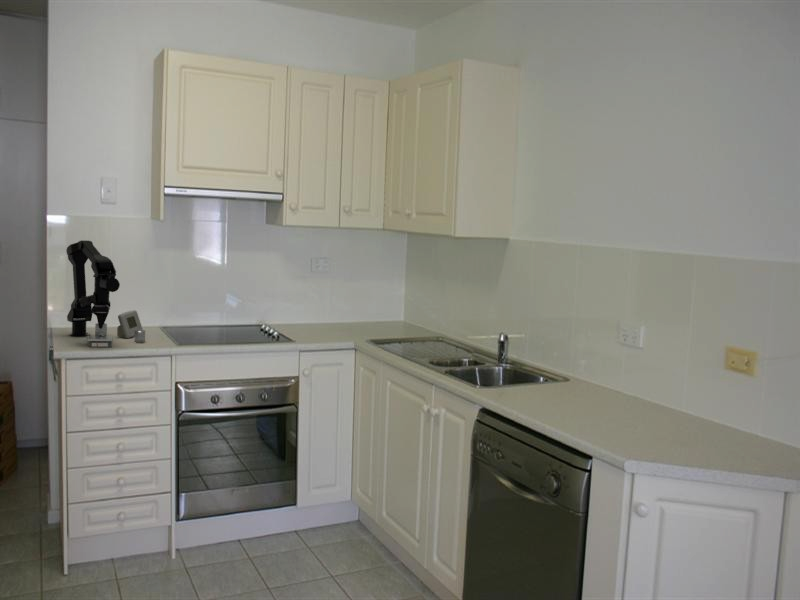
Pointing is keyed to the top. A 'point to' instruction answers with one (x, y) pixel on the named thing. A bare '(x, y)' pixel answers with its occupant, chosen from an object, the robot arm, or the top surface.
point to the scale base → (100, 343)
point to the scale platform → (100, 338)
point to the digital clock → (128, 324)
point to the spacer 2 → (139, 336)
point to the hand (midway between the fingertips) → (101, 326)
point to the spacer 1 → (101, 330)
